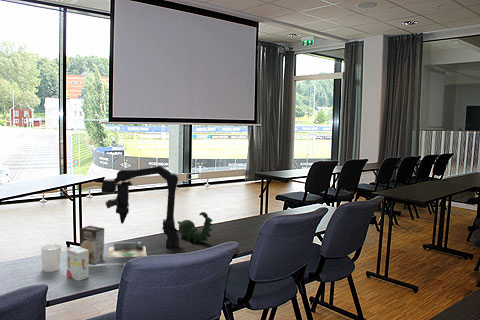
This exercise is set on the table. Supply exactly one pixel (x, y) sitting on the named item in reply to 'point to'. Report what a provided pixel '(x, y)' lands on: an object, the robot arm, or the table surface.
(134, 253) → the dial board
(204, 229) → the toy figurine
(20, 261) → the table surface
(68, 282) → the table surface
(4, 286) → the table surface
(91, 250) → the coffee box
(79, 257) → the ink box
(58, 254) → the white cup
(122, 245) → the grey long bar
